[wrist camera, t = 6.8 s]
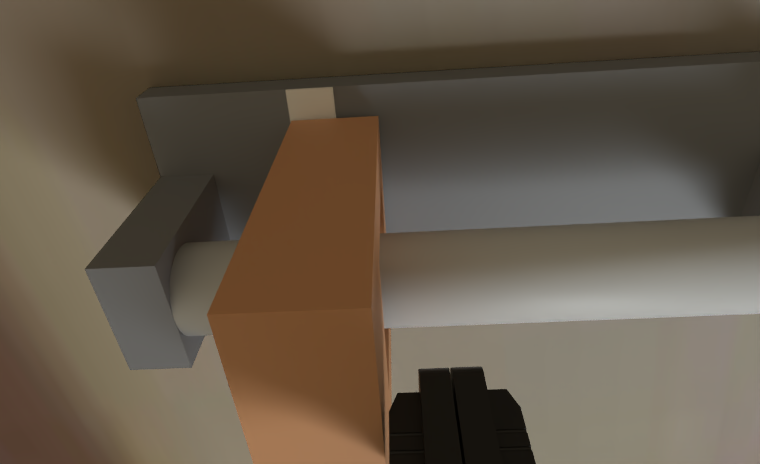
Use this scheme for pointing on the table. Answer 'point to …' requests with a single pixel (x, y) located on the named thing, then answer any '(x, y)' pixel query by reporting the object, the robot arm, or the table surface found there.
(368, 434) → the collar
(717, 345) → the table surface
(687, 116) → the pipe rail
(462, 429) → the robot arm
